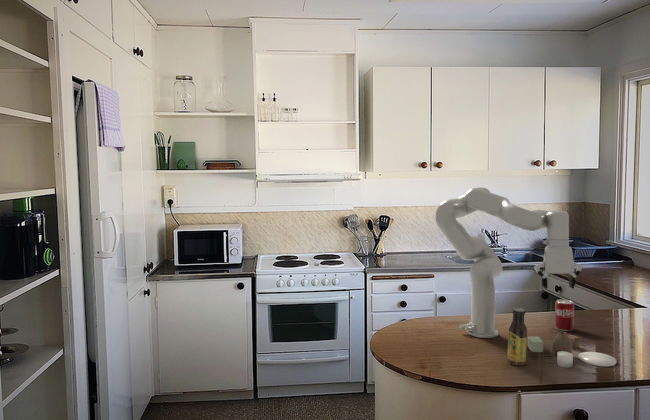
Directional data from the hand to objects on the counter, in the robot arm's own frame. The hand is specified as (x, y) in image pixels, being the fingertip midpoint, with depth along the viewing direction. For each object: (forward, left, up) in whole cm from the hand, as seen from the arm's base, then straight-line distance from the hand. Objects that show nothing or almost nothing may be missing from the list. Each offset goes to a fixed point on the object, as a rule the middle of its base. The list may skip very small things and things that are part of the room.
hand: (558, 287), depth 193 cm
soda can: (+17, +21, -24) cm, 36 cm away
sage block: (-8, +1, -24) cm, 25 cm away
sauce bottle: (-22, -11, -24) cm, 35 cm away
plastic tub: (-6, -15, -24) cm, 29 cm away
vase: (-2, -7, -24) cm, 25 cm away
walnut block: (+7, +1, -24) cm, 25 cm away
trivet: (+8, -13, -24) cm, 28 cm away
